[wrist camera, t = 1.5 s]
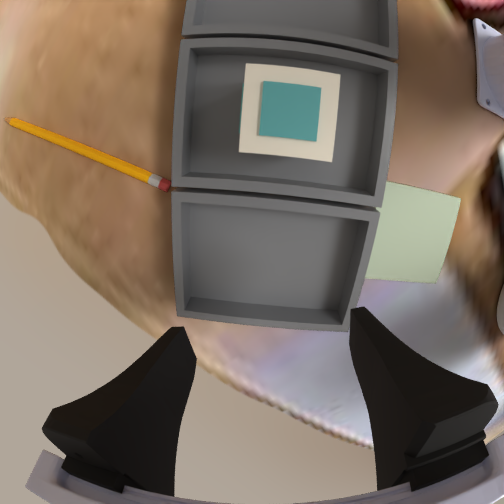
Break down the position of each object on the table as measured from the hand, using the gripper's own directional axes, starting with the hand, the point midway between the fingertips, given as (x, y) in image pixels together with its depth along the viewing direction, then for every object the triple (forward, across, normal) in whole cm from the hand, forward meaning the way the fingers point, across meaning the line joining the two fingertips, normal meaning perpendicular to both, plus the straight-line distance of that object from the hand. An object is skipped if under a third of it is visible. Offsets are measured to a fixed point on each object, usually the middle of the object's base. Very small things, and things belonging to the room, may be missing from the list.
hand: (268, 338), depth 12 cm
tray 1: (+8, -4, -18) cm, 20 cm away
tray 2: (+8, -2, -9) cm, 12 cm away
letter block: (+8, -2, -9) cm, 12 cm away
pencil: (+9, +14, -11) cm, 20 cm away
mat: (+8, -10, 0) cm, 13 cm away
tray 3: (+8, 0, 0) cm, 8 cm away
